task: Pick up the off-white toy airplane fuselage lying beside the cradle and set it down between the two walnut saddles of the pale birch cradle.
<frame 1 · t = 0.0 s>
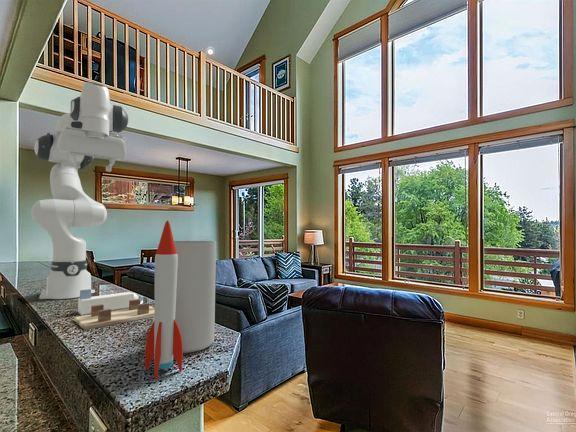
hand: (93, 169, 109), 48 cm above the counter, fingers open, 8 cm apart
fuselage: (106, 309, 109), on the counter
toy rocket: (163, 371, 63), on the counter
spread jar: (173, 330, 88), on the counter
cylinder vase: (187, 345, 77), on the counter
cradle: (120, 317, 99), on the counter
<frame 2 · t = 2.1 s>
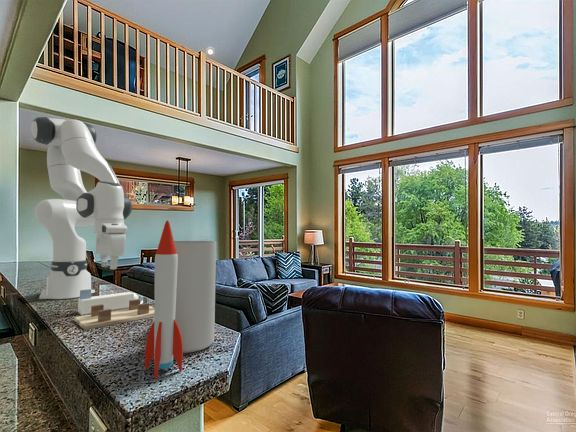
hand: (108, 268, 109), 14 cm above the counter, fingers open, 8 cm apart
nothing on the counter moved.
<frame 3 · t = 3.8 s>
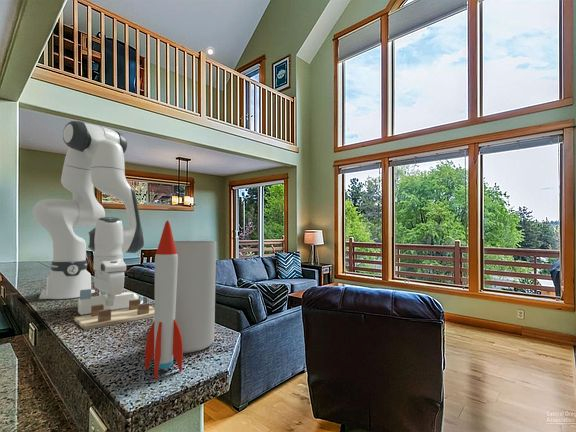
hand: (107, 304, 109), 2 cm above the counter, fingers closed on fuselage, 4 cm apart
fuselage: (106, 309, 109), on the counter, touching gripper
everything else where it was.
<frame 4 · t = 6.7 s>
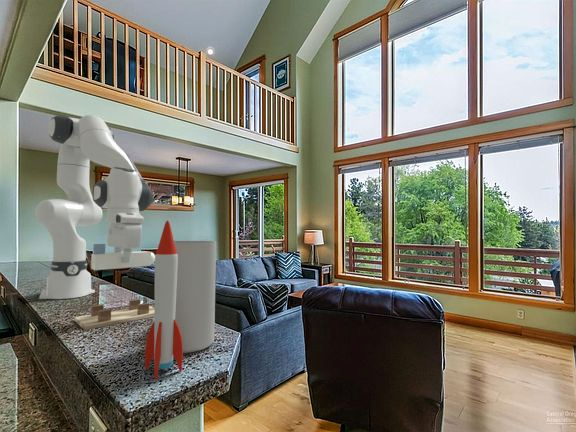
hand: (122, 262, 100), 17 cm above the counter, fingers closed on fuselage, 4 cm apart
fuselage: (122, 267, 100), point 16 cm above the counter, touching gripper
everything else where it was.
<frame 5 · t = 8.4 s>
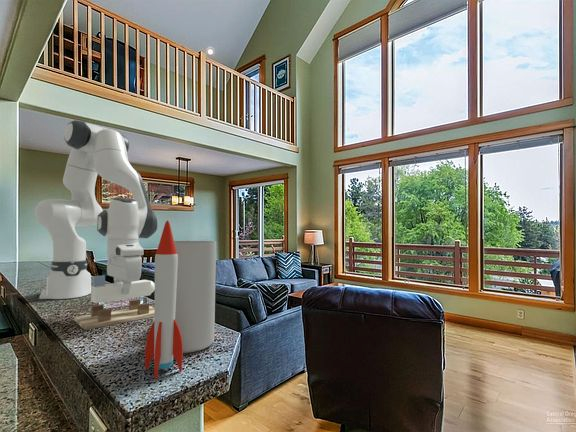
hand: (122, 292, 99), 8 cm above the counter, fingers closed on fuselage, 4 cm apart
fuselage: (121, 297, 99), point 6 cm above the counter, touching gripper
everything else where it was.
when the fingers open (4 cm above the counter, at t = 9.6 s): fuselage stays where it is, resting on cradle.
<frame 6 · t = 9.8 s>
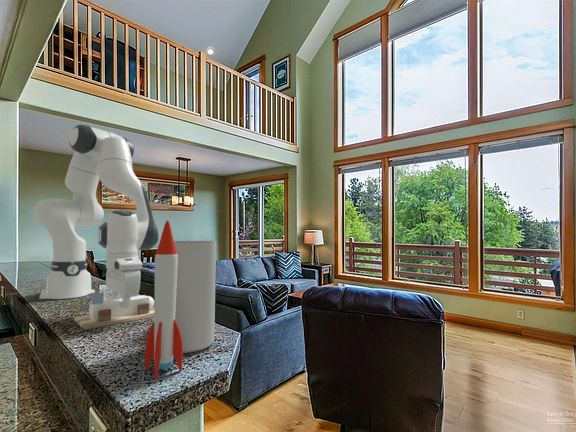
hand: (120, 306, 99), 4 cm above the counter, fingers open, 6 cm apart
fuselage: (120, 314, 99), point 1 cm above the counter, touching cradle
everything else where it was.
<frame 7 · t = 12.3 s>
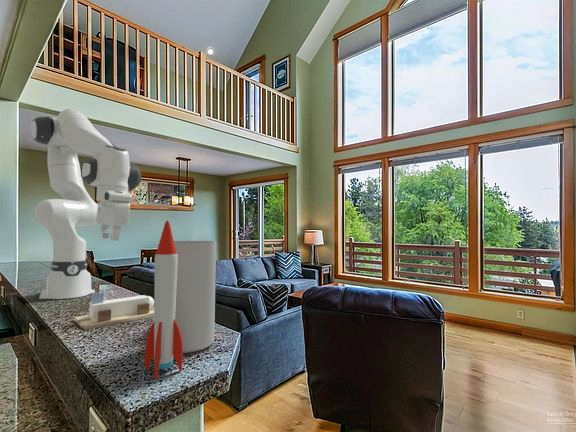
hand: (109, 239, 101), 24 cm above the counter, fingers open, 8 cm apart
nothing on the counter moved.
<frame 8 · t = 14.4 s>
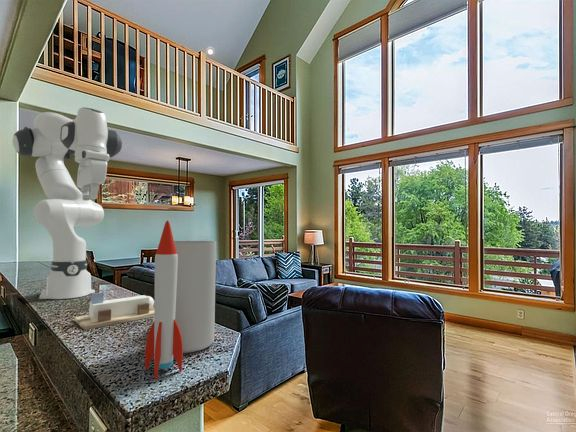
hand: (89, 199, 103), 37 cm above the counter, fingers open, 8 cm apart
nothing on the counter moved.
at the end: fuselage 0.1 cm off-centre on the cradle, point 1.0 cm above the cradle's base; fuselage tilted 0°; the gripper is holding nothing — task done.
